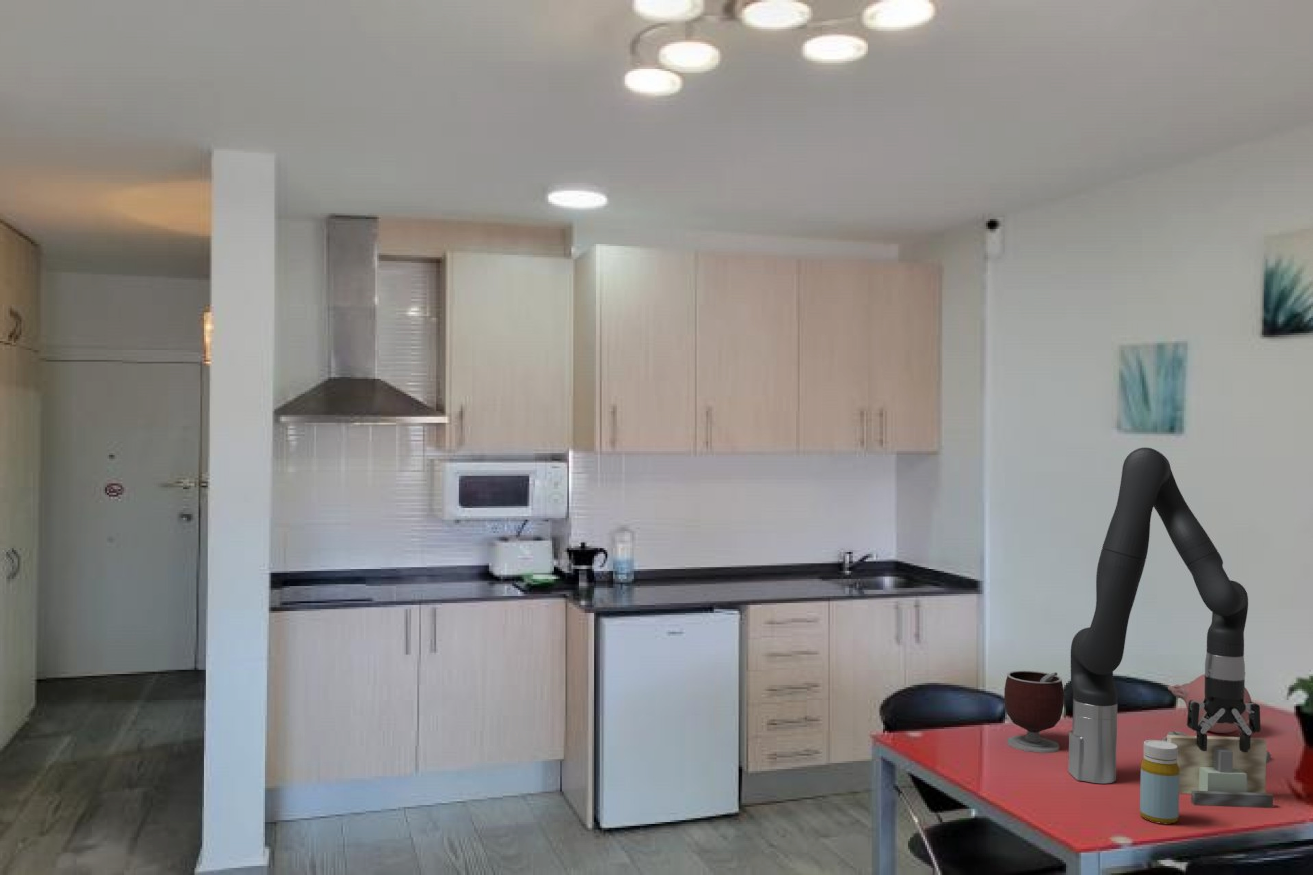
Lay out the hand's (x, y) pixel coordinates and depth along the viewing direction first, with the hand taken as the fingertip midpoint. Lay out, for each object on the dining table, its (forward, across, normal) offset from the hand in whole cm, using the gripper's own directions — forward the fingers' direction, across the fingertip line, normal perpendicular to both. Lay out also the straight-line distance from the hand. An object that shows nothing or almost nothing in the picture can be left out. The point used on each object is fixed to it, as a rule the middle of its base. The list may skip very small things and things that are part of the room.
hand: (1223, 750), depth 226 cm
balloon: (+10, -22, -54) cm, 59 cm away
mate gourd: (+10, +29, -34) cm, 46 cm away
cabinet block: (+10, 0, 0) cm, 10 cm away
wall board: (+10, 0, 0) cm, 10 cm away
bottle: (+10, +19, +14) cm, 26 cm away
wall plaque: (+11, -12, -30) cm, 34 cm away
